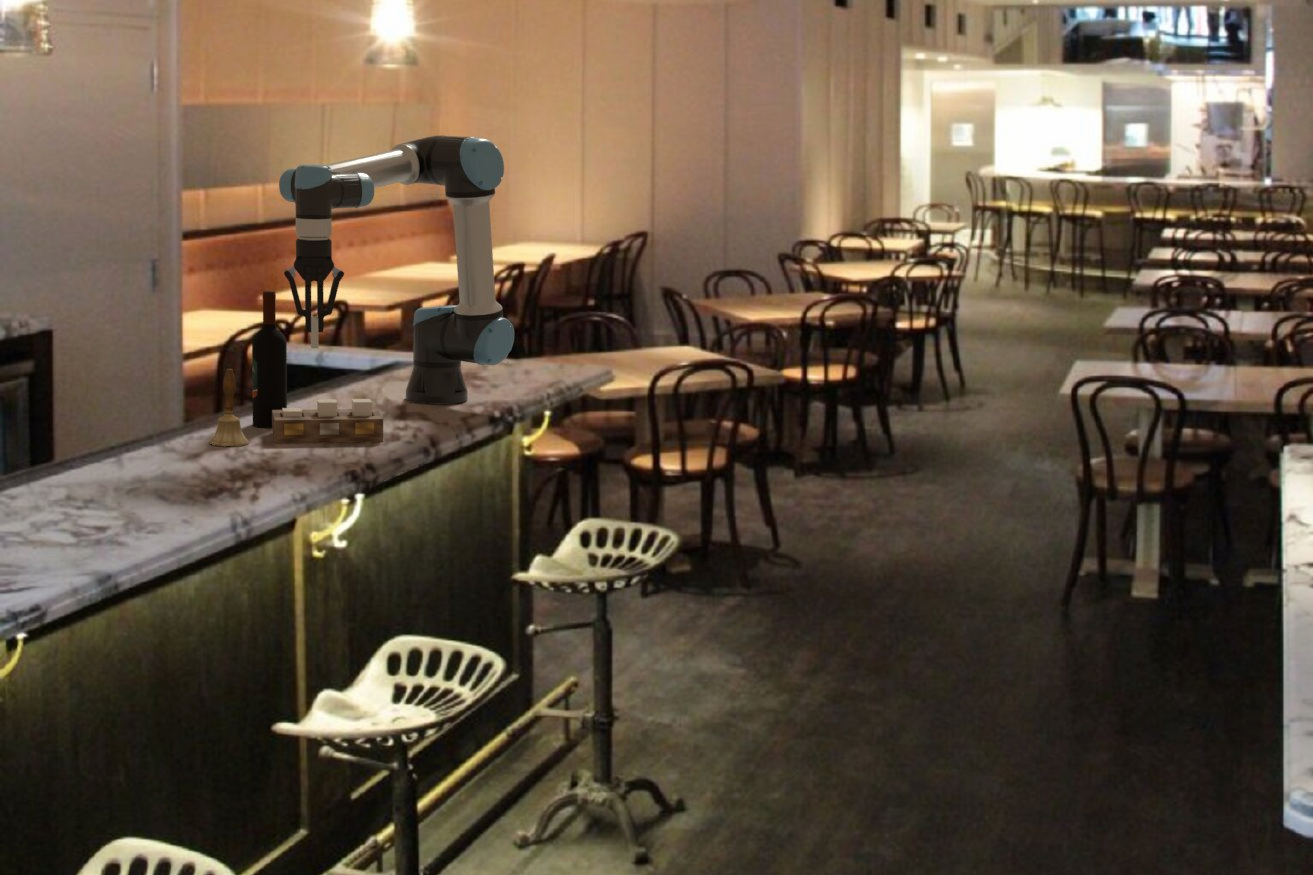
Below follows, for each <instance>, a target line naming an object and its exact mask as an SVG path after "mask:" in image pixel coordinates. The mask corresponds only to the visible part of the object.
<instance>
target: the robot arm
mask: <svg viewBox="0 0 1313 875" xmlns="http://www.w3.org/2000/svg"><path fill="white" fill-rule="evenodd" d="M504 174H505V163H504V158H503V155H502V152H501V151H500V149H499V148H498V146H496V145H495V143H494V142H492V141H491V140H489V139H487V138H486V139H485V138H479V137H476V136H460V135H459V136H454V135H453V136H452V135H442V134H441V135H433V136H426V137H423V138H420V139H419V138H418V139H415V140H411V141H407V142H403V143H399V144H396V145H394V146H393V147H392V148H391V149H390V150H388V151H383V152H378V153H373V154H369V155H365V156H360V157H355V158H350V159H347V160H346V159H345V160H341V161H337V162H333V163H328V164H300V165H298V166H297V167H296V168H289V169H286V170H285V171H284V172H283V173H282V174H281V176H280V178H279V182H278V189H279V193H280V195H281V197H282V198H283V199H284V200H285V201H287V202H289V203H293V204H295V236H296V237H297V239H296V240H295V259H294V262H293V265H292V266H291V267H289V268H288V269H284V271H283V274H284V277H285V278H286V279H287V281H288V284H289V285H290V286H289V287H290V291H291V295H292V297H293V301H294V307H295V309H296V313H297V315H298V316H303V317H304V318H305V319H304V321H305V322H304V323H305V332H306V333H310V348H311V349H319V333H323V332H324V329H325V328H324V318H325V317H327V316H331V315H332V314H333V310H334V306H335V302H336V299H337V298H336V297H337V293H338V290H339V285H340V282H341V281H342V279H343V277H344V276H345V272H344V271H343V270H342V269H339V268H338V267H336V266H335V263H334V261H333V254H332V253H333V252H332V251H333V250H332V243H333V241H332V239H330V237H332V234H333V233H332V213H333V212H332V210H334V209H353V208H354V209H358V208H362V207H363V208H364V207H367V206H368V205H369V204H370V203H372V201H373V199H374V197H375V189H377V188H380V187H385V186H389V185H393V184H397V183H399V184H401V185H403V186H404V185H405V186H409V185H412V184H413V185H414V184H427V185H438V186H444V190H445V191H444V192H445V194H444V195H445V197H446V199H447V200H449V201H450V203H452V210H453V212H452V213H453V224H454V225H453V226H454V227H453V228H454V238H455V239H454V241H455V254H456V268H457V281H458V296H459V299H458V300H459V303H458V304H457V305H456V304H455V305H454V304H453V305H450V304H449V305H436V306H435V305H434V306H426V307H420V308H417V309H416V310H415V312H414V313H413V323H412V337H413V338H412V339H413V340H412V343H413V344H412V345H413V346H412V351H413V354H412V355H413V356H412V359H413V362H412V365H413V366H412V369H411V374H410V377H409V380H408V382H407V386H406V389H405V400H407V401H408V402H412V403H417V404H427V405H428V404H429V405H451V404H460V403H463V402H467V401H468V398H469V397H468V393H469V392H468V388H467V385H466V382H465V378H464V375H463V372H462V362H464V363H472V364H477V365H479V366H485V365H486V366H495V365H498V364H500V363H502V362H503V361H504V360H505V359H507V357H508V355H509V353H510V352H511V351H512V348H513V345H514V342H515V328H514V325H513V324H512V323H511V321H510V320H509V319H508V318H506V317H504V312H503V306H502V305H501V304H500V303H499V302H498V301H497V299H496V287H495V271H494V270H495V269H494V257H493V256H494V254H493V241H492V225H491V208H490V201H491V200H492V199H493V197H495V195H496V188H498V187H499V185H500V184H501V182H502V180H503V179H502V178H503V176H504ZM296 272H297V273H298V275H299V277H301V278H302V280H303V281H304V300H305V301H304V309H303V308H302V307H303V306H302V304H301V300H300V295H299V292H298V288H297V284H296V281H295V278H296V275H297V274H296ZM331 272H332V273H331ZM330 273H331V274H332V277H333V279H332V283H331V286H330V292H329V295H328V299H327V302H326V304H327V305H326V308H325V306H324V281H325V280H327V278H328V277H329V276H330ZM312 282H316V293H317V294H316V300H317V301H316V303H317V304H316V307H317V308H316V309H317V310H316V311H317V313H316V314H317V316H312Z"/></svg>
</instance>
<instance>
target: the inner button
mask: <svg viewBox="0 0 1313 875" xmlns="http://www.w3.org/2000/svg"><path fill="white" fill-rule="evenodd" d="M351 409H352V416H372V409H373V401H372V400H371V398H352V399H351Z"/></svg>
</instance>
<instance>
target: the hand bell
mask: <svg viewBox="0 0 1313 875" xmlns="http://www.w3.org/2000/svg"><path fill="white" fill-rule="evenodd" d="M222 387H223V393H224V394H223V395H224V397H225V404H224V405H225V406H224V415H222V416H221V417H219V418H218V419H217V426H216V427H217V428H216V430H215V433H214V435H213V436H212V437H211V438H210V439H209V441H208V444H209V443H210V445H211V444H212V446H215V445H217V446H216V447H226V446H231V447H242V446H246V445H249V444H250V441H249V439H248V438H247V437H246V435H244V433H243V430H242V427H241V420H240V418H239V417H237V416H236V415H234V396H235V392H236V376H235V374H234V370H233V368H226V370H225V374H224V377H223V380H222Z"/></svg>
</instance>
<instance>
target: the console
mask: <svg viewBox="0 0 1313 875" xmlns="http://www.w3.org/2000/svg"><path fill="white" fill-rule="evenodd" d="M271 433H272V437H273V441H274V444H304V443H305V444H307V443H309V444H310V443H312V444H313V443H315V444H316V443H320V444H321V443H374V442H375V443H382V442H384V418H383V415H382V414H381V412H380V410H379V409H378V408H372V416H352V408H348V409H347V408H346V409H345V408H342V409H341V408H339V409H338V408H337V416H335V417H317V409H302V417H282V410H272V428H271Z"/></svg>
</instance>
